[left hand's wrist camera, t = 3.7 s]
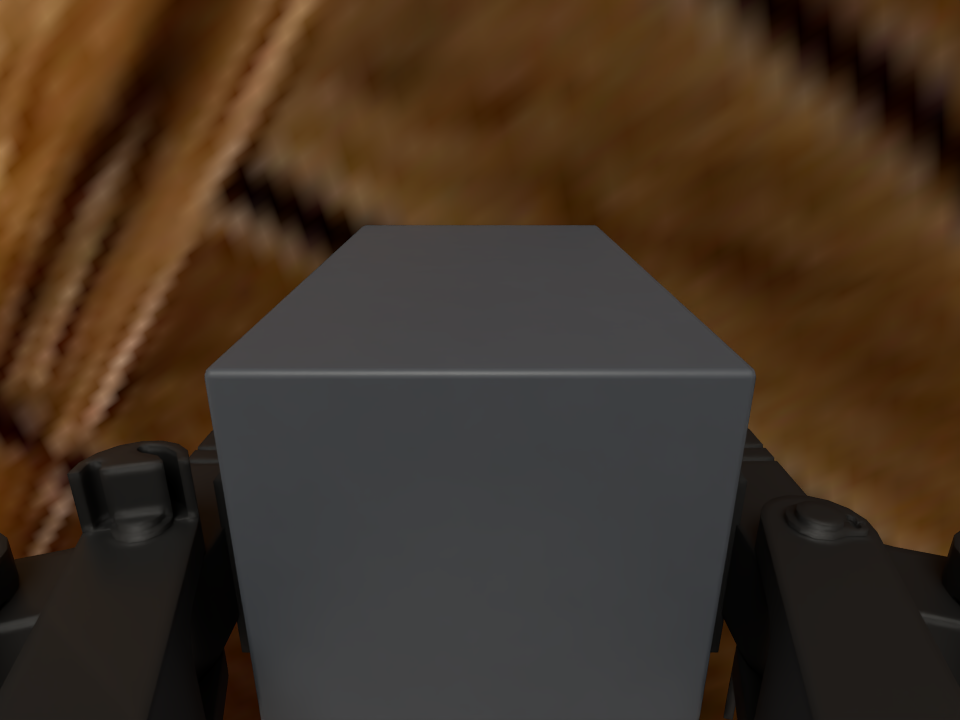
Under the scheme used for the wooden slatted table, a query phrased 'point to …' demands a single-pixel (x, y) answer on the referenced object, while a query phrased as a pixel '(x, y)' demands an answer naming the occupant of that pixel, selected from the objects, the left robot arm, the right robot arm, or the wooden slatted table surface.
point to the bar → (480, 481)
